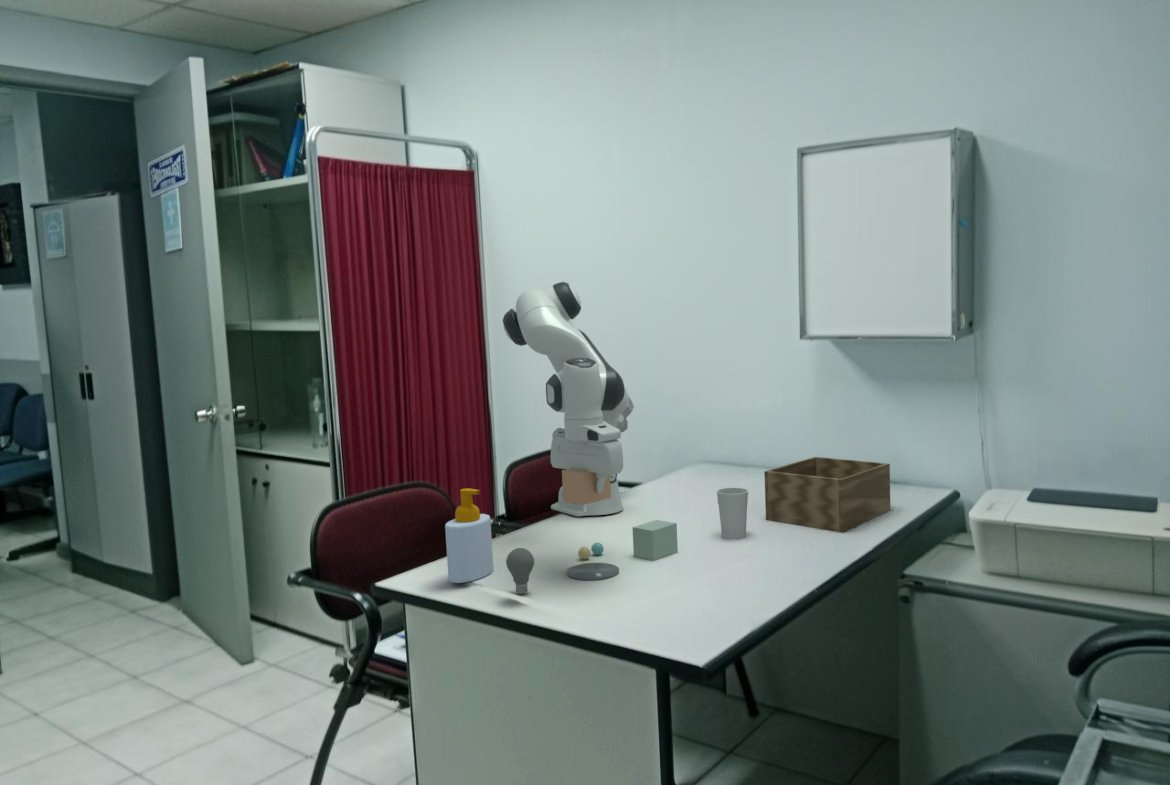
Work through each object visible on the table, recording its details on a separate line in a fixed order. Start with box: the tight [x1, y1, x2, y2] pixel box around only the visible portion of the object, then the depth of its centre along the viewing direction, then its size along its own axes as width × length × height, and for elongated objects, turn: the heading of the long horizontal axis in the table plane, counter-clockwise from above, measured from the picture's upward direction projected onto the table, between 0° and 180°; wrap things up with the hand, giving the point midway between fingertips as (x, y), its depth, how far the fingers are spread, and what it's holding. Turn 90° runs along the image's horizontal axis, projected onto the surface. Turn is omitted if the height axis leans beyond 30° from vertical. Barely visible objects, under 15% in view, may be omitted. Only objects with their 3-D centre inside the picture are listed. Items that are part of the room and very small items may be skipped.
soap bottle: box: [444, 487, 494, 584], centre depth 213 cm, size 13×8×20 cm, turn 148°
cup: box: [716, 487, 749, 541], centre depth 236 cm, size 8×8×12 cm
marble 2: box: [590, 542, 604, 556], centre depth 226 cm, size 3×3×3 cm
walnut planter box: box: [763, 456, 891, 534], centre depth 250 cm, size 23×26×14 cm
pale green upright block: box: [632, 519, 679, 561], centre depth 223 cm, size 6×9×7 cm
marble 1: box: [577, 546, 592, 560], centre depth 222 cm, size 3×3×3 cm
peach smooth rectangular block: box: [561, 469, 611, 505], centre depth 209 cm, size 6×9×7 cm
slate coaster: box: [566, 562, 620, 582], centre depth 211 cm, size 12×12×1 cm
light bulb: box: [505, 547, 535, 595], centre depth 198 cm, size 6×6×10 cm
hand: (586, 490), depth 209 cm, fingers closed on peach smooth rectangular block, 6 cm apart
